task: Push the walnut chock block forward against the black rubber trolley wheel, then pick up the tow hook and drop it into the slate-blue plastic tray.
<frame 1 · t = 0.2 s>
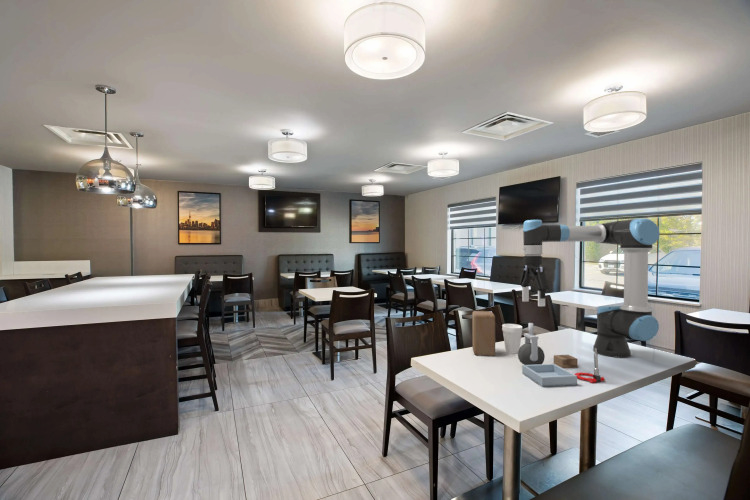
hand: (533, 303, 151), 27 cm above the table, tool pointing down, fingers open, 13 cm apart
foam cup: (512, 352, 172), on the table
trolley wheel: (531, 367, 150), on the table
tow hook: (587, 379, 137), on the table
wooden block: (483, 353, 171), on the table
tray: (548, 379, 136), on the table
chock: (565, 366, 152), on the table
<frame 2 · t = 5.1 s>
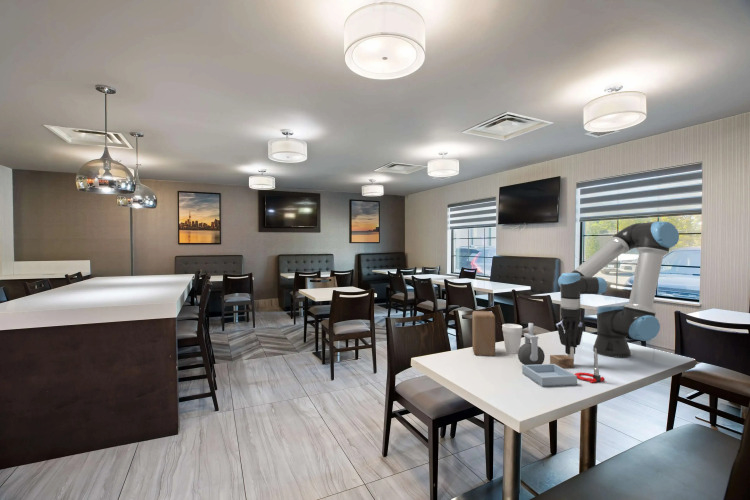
hand: (570, 361, 152), 2 cm above the table, tool pointing down, fingers closed
chock: (561, 366, 151), on the table, touching gripper
everything else where it was.
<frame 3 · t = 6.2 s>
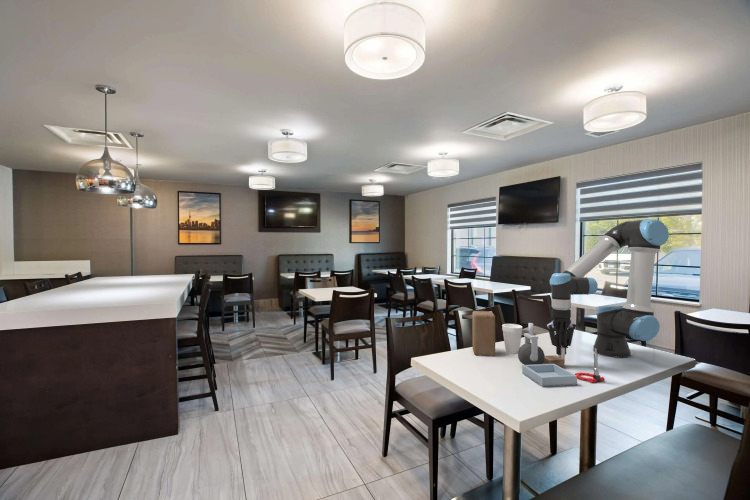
hand: (561, 361, 151), 2 cm above the table, tool pointing down, fingers closed
chock: (552, 366, 151), on the table
everything else where it was.
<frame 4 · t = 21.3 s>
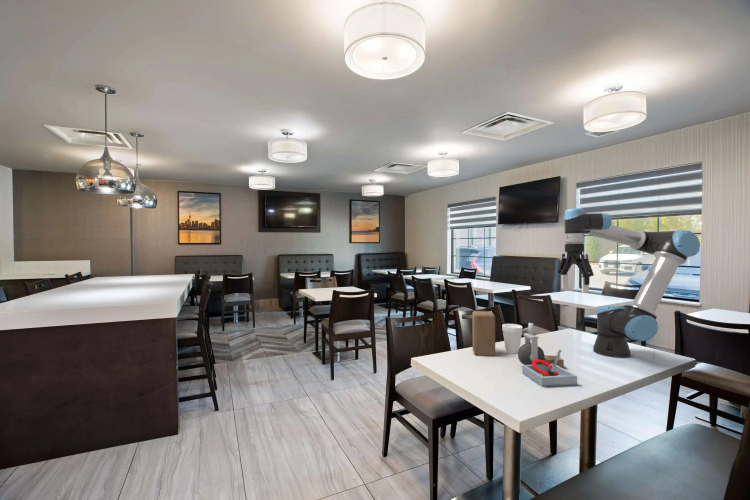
hand: (574, 290, 154), 33 cm above the table, tool pointing down, fingers open, 13 cm apart
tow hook: (542, 369, 140), point 3 cm above the table, touching tray
at the end: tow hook inside the target area on the tray (3.9 cm from its centre), point 2.5 cm above the tray's base; chock inside the target area (0.5 cm from its centre), on the table; the gripper is holding nothing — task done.
